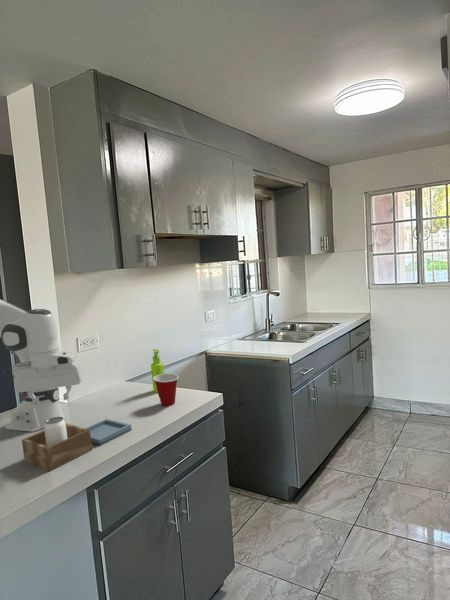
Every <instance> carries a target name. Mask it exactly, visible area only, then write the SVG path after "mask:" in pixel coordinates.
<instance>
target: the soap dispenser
mask: <svg viewBox="0 0 450 600" xmlns="http://www.w3.org/2000/svg"><path fill="white" fill-rule="evenodd" d="M152 351H153V352H154V353H153V354H154V355H153V356H152V362H151V364H150V372H151V380H152V389H153V393H158V391H157V387H156V384H155V381H154V379H153V378H154V376H157V375H160V374H165V367H164V365H165V364H164V362H161V356H160V355H159V353H160V350H159V349H158V348H156V349H152Z"/></svg>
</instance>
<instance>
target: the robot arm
mask: <svg viewBox="0 0 450 600" xmlns="http://www.w3.org/2000/svg"><path fill="white" fill-rule="evenodd" d="M57 330H58V329H57V324H56V321H55V317H54V314H53V313H52V312H51V310H48V309H45V308H35V309H29V310H26V309H24V308H22V307H20V306H18V305H16V304H13V303H10V302H9V301H6V300H3V299H0V338H1V342H2V345H3V347H4V348H6V349H7V350H8V351H10V352H14V353H15V355H16V356H17V357H18V359H19V361H20V362H17V363H16V364H14V365H13V366H12V369H11V370H12V371H11V372H12V375H13V387H14V388H13V389H14V392H16V393H20V395H21V397H23V400H22V401H21V402H20V403H19V404H18V405H17V406H16V407H15V408H14V409H13V410H12V412H11V416H10V421H9V422H7V424H6V425H5V426H4V427H5V430H9V431H19V432H21V431H22V432H31V433H32V432H36V431H39V430H41V429H42V430H43V429H44V426H45V421H46V420H48V419H50V418H54V417H63V420H64V421H65V420H66V416H65V414H64V412H63V410H62V406H61V402H60V391H59V388H62V387H65V389H66V392H63V395H62V396H63V400H64V401H65V400H70V392H71V390H72V387H73V386H77V385H80V384H81V382H82V380H83V375H82V370H81V367H80V364H79V363H78V361H77V360H76V354H75V353H73V352H67V351H62V350H60V346H59V344H58V331H57Z"/></svg>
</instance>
